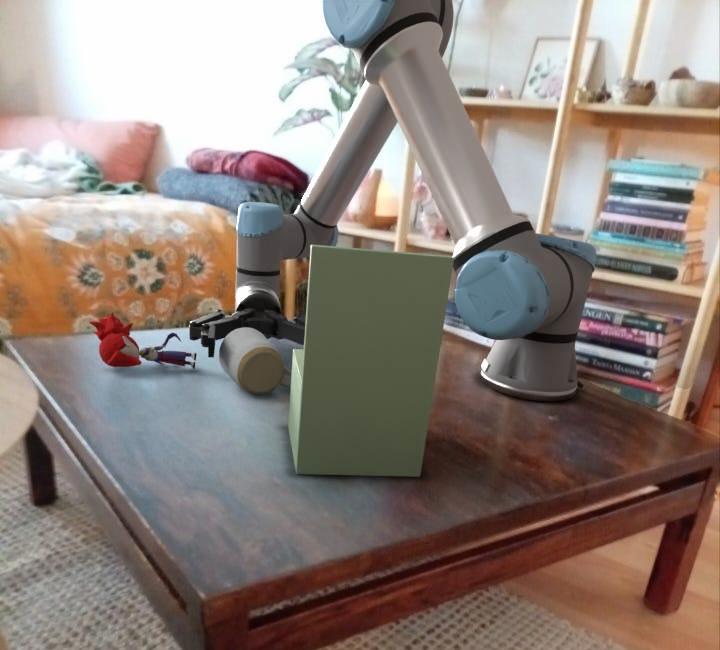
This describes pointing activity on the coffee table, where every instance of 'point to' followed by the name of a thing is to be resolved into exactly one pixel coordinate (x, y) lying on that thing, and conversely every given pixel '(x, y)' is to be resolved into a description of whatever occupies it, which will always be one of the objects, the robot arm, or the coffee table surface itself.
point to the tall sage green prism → (367, 361)
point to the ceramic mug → (253, 361)
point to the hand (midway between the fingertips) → (261, 350)
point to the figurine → (132, 346)
